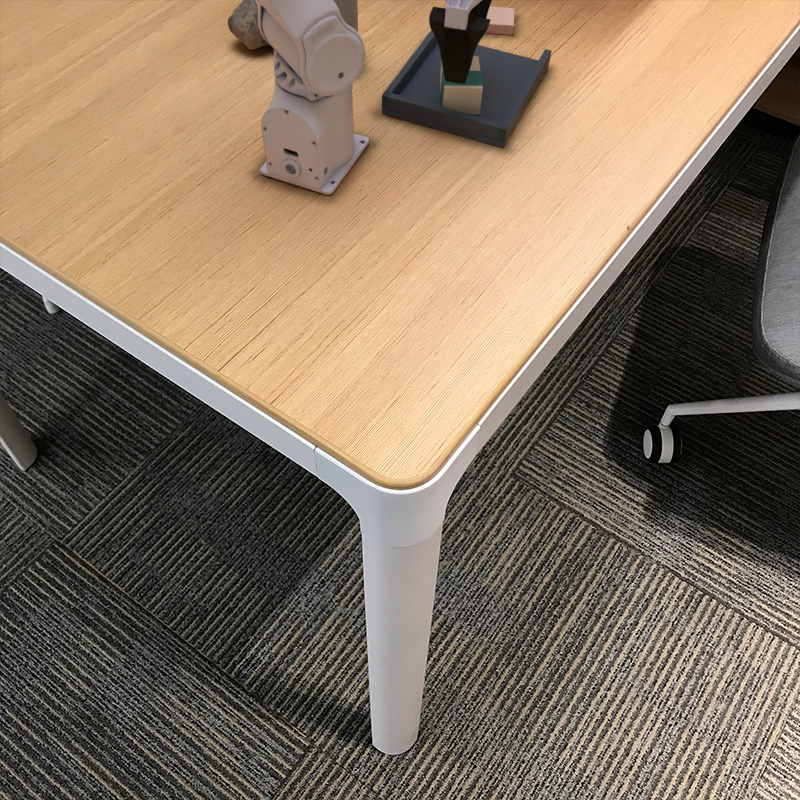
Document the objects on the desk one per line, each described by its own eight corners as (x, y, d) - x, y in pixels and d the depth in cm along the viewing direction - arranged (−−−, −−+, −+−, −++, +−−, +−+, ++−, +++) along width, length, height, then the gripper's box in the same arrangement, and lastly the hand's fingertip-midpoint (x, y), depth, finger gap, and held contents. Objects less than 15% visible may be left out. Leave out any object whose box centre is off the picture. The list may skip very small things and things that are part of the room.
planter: (314, 59, 89) (307, -33, 80) (351, 52, 90) (348, -39, 81) (326, 81, 86) (320, -11, 78) (364, 74, 87) (362, -18, 79)
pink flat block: (512, 35, 93) (514, 25, 92) (479, 32, 93) (480, 23, 92) (513, 17, 95) (514, 8, 94) (480, 15, 95) (481, 5, 94)
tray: (503, 148, 80) (506, 129, 78) (381, 113, 83) (381, 94, 81) (548, 69, 89) (551, 50, 87) (435, 40, 92) (437, 21, 90)
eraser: (475, 82, 85) (478, 55, 83) (480, 115, 82) (483, 88, 79) (439, 82, 85) (441, 55, 83) (441, 115, 82) (444, 87, 79)
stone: (329, 42, 92) (292, -22, 90) (333, 28, 87) (295, -40, 85) (258, 84, 92) (220, 21, 90) (259, 72, 86) (219, 5, 84)
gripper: (507, -37, 64) (488, 106, 75) (531, -110, 72) (510, 29, 84) (425, -49, 65) (418, 95, 76) (458, -120, 73) (447, 19, 84)
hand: (462, 60), depth 80 cm, fingers open, 7 cm apart
